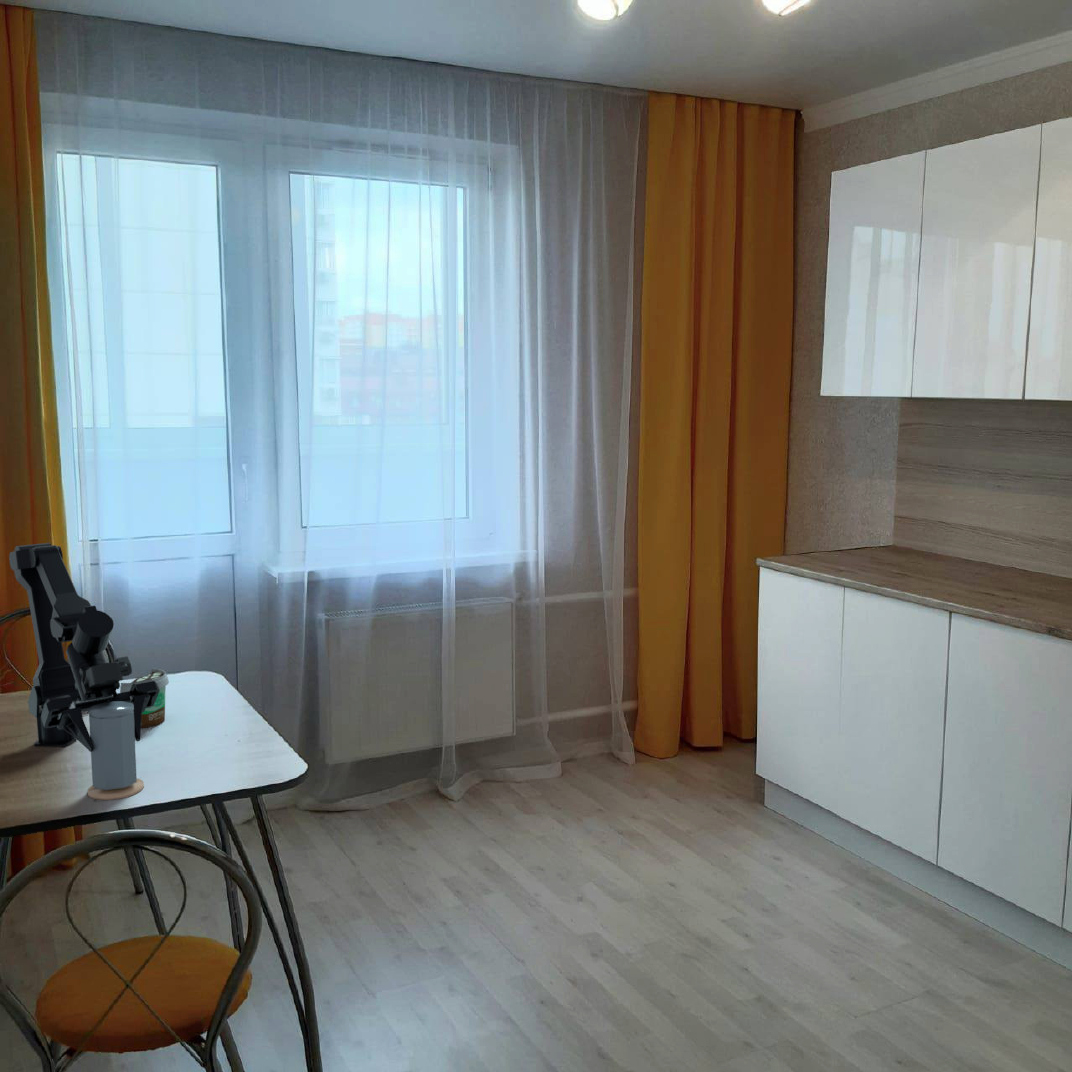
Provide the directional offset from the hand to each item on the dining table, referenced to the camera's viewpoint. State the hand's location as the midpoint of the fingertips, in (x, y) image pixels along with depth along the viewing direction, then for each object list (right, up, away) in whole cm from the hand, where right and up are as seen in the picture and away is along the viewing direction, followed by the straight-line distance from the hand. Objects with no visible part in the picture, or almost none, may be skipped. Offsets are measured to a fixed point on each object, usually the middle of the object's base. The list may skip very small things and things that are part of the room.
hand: (115, 745), depth 182 cm
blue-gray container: (-1, -7, +2) cm, 7 cm away
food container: (-7, -3, +38) cm, 39 cm away
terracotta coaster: (-1, -8, +2) cm, 8 cm away
